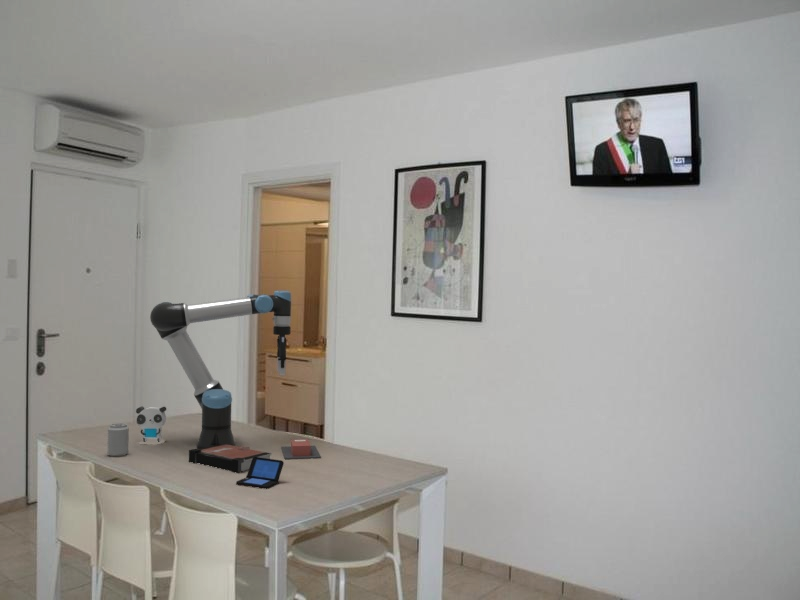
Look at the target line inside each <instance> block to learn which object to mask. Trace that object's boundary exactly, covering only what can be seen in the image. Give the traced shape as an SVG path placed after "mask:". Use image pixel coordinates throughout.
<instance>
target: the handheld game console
mask: <svg viewBox="0 0 800 600" xmlns="http://www.w3.org/2000/svg"><path fill="white" fill-rule="evenodd" d="M283 467H284V460H281V459H280V460H279V459H275V458H274V459H273V458H270V459H267V458H260V457H254V458H253V459H252V462H251V465H250V468H249V470H248V471H247V474H246V477H244V478H241V479H239V480H237V481H236V482H235V484H236V485H237V484H238V485H237V486H241V485H244V486H243V487H248V486H252V487H251V488H255V487H259V488H258V489H262V488H266V489H265V490H268V489H270V488H272V487H274V485H275V486H276V484H277V485H279V481H280V476H281V474H282V471H283ZM267 488H268V489H267Z"/></svg>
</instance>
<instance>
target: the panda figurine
mask: <svg viewBox="0 0 800 600" xmlns="http://www.w3.org/2000/svg"><path fill="white" fill-rule="evenodd" d="M166 411H167V407H166V406H161V407H158V406H150V407H147V408H145V407H144V406H139V407H137V408H136V409H135V413H136V414H138V415H137V417H136V423H137V426H138V427H139V428H140V429H141V430H140V433H141V435H142V440H143V442H146V441H147V440H148V439H157V441H158V442H160V441H161V440H162V439H163V438H162V437H163V436H162V433H163V432H162V429H163V428H162V427H163V426H164V425H165V424H166V421H167V415H166V413H165V412H166Z"/></svg>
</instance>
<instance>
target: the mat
mask: <svg viewBox="0 0 800 600" xmlns="http://www.w3.org/2000/svg"><path fill="white" fill-rule="evenodd" d="M280 448H281V452H282V456H283V458H284V460H305V459H306V460H308V459H311V458H313V459H322V456H321V454H320V452H319V451H318V449H317V446H316V445H311V456H292V452H291V445H289V446H288V445H287V446H281V447H280Z"/></svg>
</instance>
